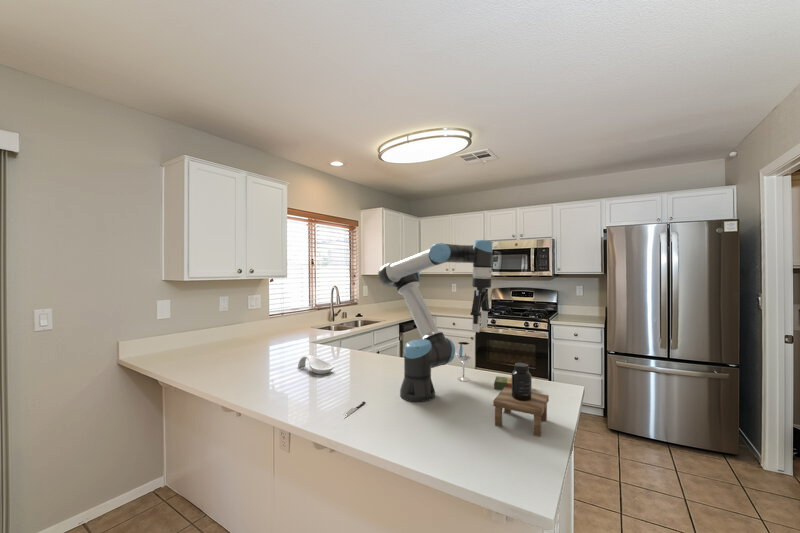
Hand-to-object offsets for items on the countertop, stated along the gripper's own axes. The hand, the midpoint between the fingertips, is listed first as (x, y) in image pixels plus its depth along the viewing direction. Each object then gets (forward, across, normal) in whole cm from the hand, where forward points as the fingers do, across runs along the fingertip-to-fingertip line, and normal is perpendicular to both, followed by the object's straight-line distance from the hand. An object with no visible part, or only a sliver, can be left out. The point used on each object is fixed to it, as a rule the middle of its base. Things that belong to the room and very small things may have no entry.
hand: (479, 329), depth 143 cm
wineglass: (+31, +25, +13) cm, 43 cm away
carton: (+31, +24, -11) cm, 40 cm away
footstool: (+30, -12, -19) cm, 37 cm away
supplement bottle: (+21, -12, -19) cm, 30 cm away
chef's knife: (+32, -32, +41) cm, 61 cm away
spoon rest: (+34, +2, +88) cm, 94 cm away
